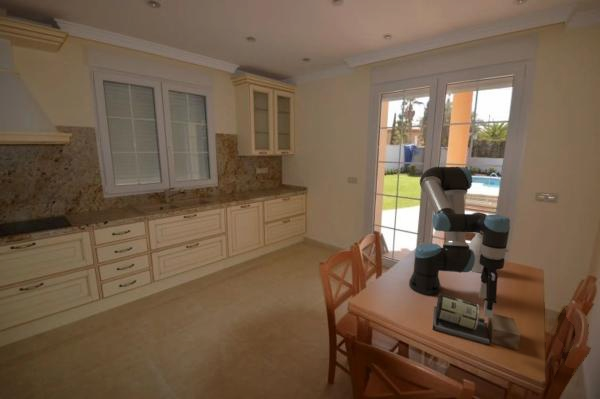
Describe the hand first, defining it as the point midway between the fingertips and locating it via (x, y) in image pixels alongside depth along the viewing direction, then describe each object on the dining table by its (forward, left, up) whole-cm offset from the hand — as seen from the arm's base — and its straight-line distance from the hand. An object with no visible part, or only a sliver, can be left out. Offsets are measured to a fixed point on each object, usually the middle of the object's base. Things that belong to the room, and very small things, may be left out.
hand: (485, 306), depth 105 cm
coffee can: (-2, 0, -6) cm, 6 cm away
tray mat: (-8, 0, -11) cm, 14 cm away
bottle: (+4, +64, -11) cm, 65 cm away
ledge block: (+6, 0, -11) cm, 13 cm away
